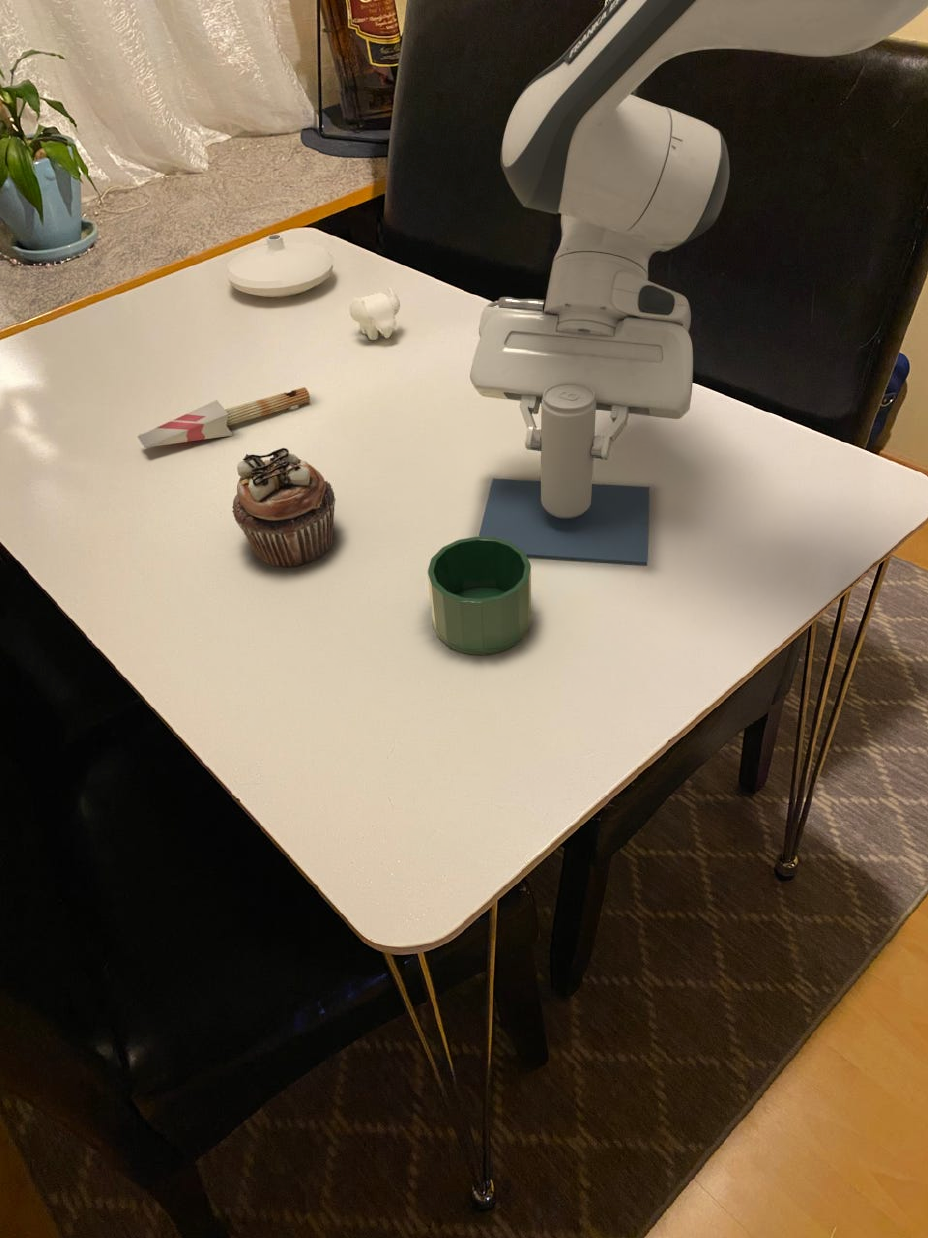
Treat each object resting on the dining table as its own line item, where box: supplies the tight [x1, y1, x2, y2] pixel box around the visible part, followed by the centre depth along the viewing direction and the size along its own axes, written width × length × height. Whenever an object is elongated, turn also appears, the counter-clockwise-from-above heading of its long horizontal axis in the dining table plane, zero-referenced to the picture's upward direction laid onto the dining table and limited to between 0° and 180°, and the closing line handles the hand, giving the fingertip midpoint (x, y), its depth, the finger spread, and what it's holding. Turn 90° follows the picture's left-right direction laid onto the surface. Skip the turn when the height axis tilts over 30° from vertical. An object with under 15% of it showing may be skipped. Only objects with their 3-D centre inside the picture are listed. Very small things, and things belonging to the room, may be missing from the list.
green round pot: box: [427, 535, 532, 656], centre depth 76 cm, size 8×8×6 cm
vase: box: [225, 233, 334, 298], centre depth 130 cm, size 16×16×7 cm
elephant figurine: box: [349, 287, 401, 341], centre depth 117 cm, size 7×8×6 cm
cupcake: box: [231, 447, 337, 568], centre depth 84 cm, size 10×10×10 cm
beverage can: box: [540, 382, 597, 519], centre depth 83 cm, size 5×5×12 cm
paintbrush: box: [136, 386, 311, 448], centre depth 103 cm, size 4×3×20 cm
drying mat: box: [478, 478, 650, 566], centre depth 88 cm, size 16×12×1 cm
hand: (566, 453), depth 82 cm, fingers closed on beverage can, 5 cm apart
